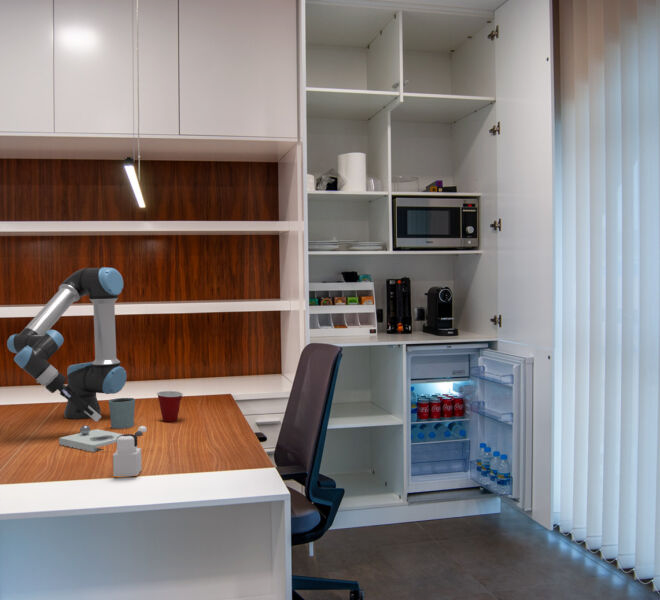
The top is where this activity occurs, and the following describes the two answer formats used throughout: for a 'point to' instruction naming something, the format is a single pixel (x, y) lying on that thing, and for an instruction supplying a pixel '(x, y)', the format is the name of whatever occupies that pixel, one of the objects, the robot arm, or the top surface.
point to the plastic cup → (169, 405)
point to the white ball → (142, 429)
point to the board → (90, 440)
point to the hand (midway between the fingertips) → (98, 419)
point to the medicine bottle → (127, 456)
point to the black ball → (138, 433)
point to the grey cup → (122, 412)
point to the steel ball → (85, 430)
